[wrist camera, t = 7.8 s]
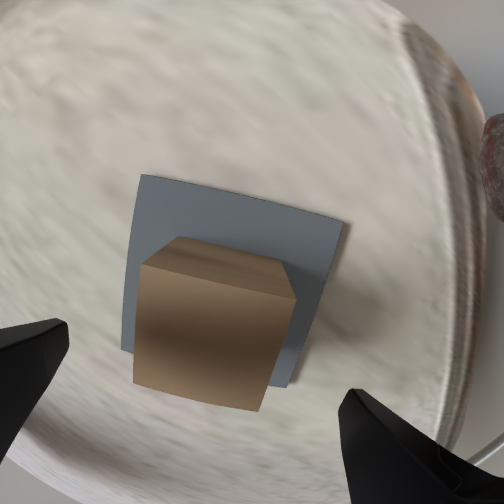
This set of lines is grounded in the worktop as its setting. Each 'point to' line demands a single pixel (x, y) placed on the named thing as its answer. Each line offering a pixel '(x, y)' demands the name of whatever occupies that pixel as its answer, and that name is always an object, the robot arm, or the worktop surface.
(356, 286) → the worktop surface
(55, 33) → the worktop surface
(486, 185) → the candle
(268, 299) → the walnut cube
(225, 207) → the slate pad
